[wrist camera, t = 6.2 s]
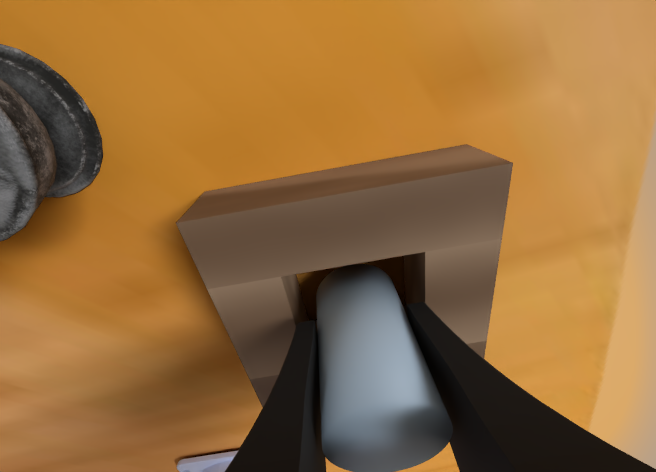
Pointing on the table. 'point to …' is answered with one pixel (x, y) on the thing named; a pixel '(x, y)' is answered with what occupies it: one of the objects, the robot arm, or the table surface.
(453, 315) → the socket block
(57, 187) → the dark grey chess piece
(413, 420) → the peg
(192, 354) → the table surface
